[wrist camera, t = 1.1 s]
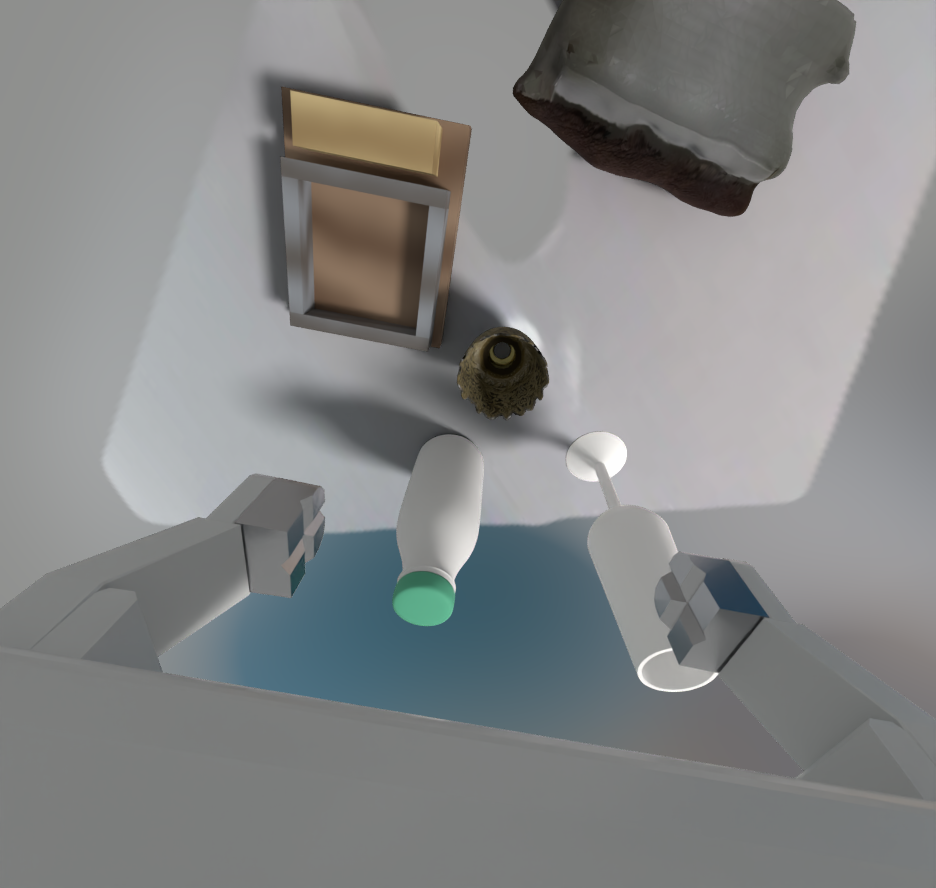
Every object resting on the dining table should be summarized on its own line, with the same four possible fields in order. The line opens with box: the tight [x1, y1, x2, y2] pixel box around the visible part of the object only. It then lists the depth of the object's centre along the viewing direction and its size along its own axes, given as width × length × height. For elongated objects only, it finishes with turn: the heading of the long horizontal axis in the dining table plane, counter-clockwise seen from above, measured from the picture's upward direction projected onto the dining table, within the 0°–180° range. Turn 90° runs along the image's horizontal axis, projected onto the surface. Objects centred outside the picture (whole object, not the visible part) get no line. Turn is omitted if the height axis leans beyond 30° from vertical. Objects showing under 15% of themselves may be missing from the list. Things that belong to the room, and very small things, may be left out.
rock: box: [513, 0, 856, 217], centre depth 25 cm, size 18×11×8 cm, turn 70°
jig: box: [280, 87, 472, 352], centre depth 33 cm, size 17×14×4 cm
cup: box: [457, 327, 549, 420], centre depth 36 cm, size 8×7×8 cm
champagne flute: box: [566, 432, 718, 692], centre depth 34 cm, size 7×7×24 cm
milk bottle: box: [392, 434, 484, 626], centre depth 38 cm, size 8×8×20 cm
